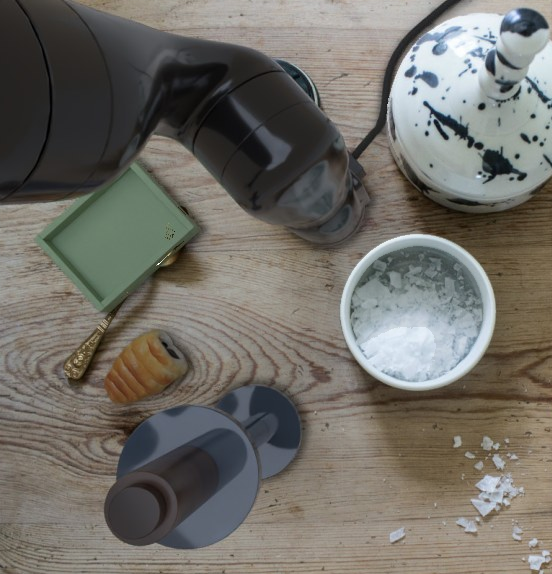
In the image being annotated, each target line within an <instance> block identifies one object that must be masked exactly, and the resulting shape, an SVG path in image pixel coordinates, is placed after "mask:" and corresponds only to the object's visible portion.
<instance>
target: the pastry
mask: <svg viewBox="0 0 552 574" xmlns="http://www.w3.org/2000/svg"><path fill="white" fill-rule="evenodd" d="M188 369H189V366H188V363H187V360H186V358H185V356H184V354H183V353H182V352H181V351H180V350H179V349H178V348H177V346H175V345H174V343H173V340H172V338H171V337H170V336H169V334H167V332H164V331H163V330H160V329H151V331H148V332H145V333H143V334H140V335H139V336H138V337H136V338H135V339H133V341H131V342H130V343H129V344H128V345H127V346H126V347H123V349H122V351H121V352H120V353H119V354H118V356H117V357H116V359H115V360H114V362H113V363H112V365H111V368H110V370H109V371H108V372H107V373H106V376H105V378H104V380H103V381H104V389H105V392H106V394H107V395H108V396H109V400H110V402H112V403H115V404H119V405H120V404H121V405H129V404H131V403H134V402H138V401H143V400H146V399H147V398H149V397H151V396H153V395H159V394H160V393H162V392H163V391H164V389H165V388H166V387H168V386H169V385H170V384H172V383H173V382H175V381H176V380H177V379H178V378H179V377H181V376H182V375H185V374H186V373H187V372H188Z"/></svg>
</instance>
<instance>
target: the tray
mask: <svg viewBox="0 0 552 574" xmlns="http://www.w3.org/2000/svg"><path fill="white" fill-rule="evenodd" d="M178 207H179V208H180V209H181V210H182V211H183V212H184V213H185V214H186V215H185V214H184V213H183V212H182V211H181V210H180V209H179V208H178ZM168 223H169V224H168ZM167 225H168V226H167ZM166 227H167V229H166ZM168 228H169V230H168ZM170 229H171V230H170ZM172 229H173V231H172ZM201 230H202V229H201V227H199V225H198V224H197V223H196V222H195V221H194V220H193V219H192V218H191V216H190V215H188V214H187V212H186V211H185V210H184V209H183V208H182V207H181V206H180V205H179V204H178V203H177V201H176V200H175V198H173V197H172V195H170V194H169V193H168V191H167V190H165V189H164V187H163V186H162V185H161V184H160V183H159V182H158V180H157V179H155V177H153V175H152V174H151V173H150V172H149V171H148V170H147V169H146V168H145V167H144V165H143V164H141V162H139V160H138V159H137V160H136V161H135V162H134V163H133V164H132V165H131V166H130V167H129V168H128V169H127V170H126V171H125V172H124V173H123V174H122V175H121V176H120V177H119V178H118V179H116V180H115V181H113V182H112V183H110V184H109V185H107V186H106V187H104V188H103V189H101V190H99V191H97V192H95V193H92V194H89V195H86V196H84V197H81V198H77V199H75V201H73V203H72V204H71V205H69V207H67V208H66V209H65V210H64V211H63V212H61V214H59V215H58V217H56V218H55V219H54V220H52V222H50V223H49V224H48V225H47V226H46V227H45V228H44V229H42V230H41V232H39V234H37V235H36V236H35V237H34V238H33V241H34V243H36V244H37V246H39V247H40V249H41V250H42V251H43V252H44V253H45V254H46V255H47V256H48V257H49V259H50V260H52V262H53V263H54V264H55V265H56V266H57V267H58V269H60V271H62V273H63V274H64V275H65V276H66V277H67V279H69V280H70V281H71V283H72V284H73V285H74V286H75V287H76V288H77V290H79V291H80V292H81V294H83V296H84V297H85V298H86V299H87V300H88V301H89V302H90V304H92V306H93V307H94V308H95V309H96V310H97V311H98V313H112V311H113V310H114V309H116V307H118V306H119V305H120V304H121V303H122V302H123V301H124V300H126V299H127V298H128V296H130V295H131V294H132V293H133V292H134V291H136V289H138V288H139V287H140V286H141V285H142V284H143V283H144V282H145V281H146V280H147V279H149V278H150V277H151V276H152V275H153V274H154V273H155V272H156V271H158V269H159V268H161V267H162V266H163V265H164V264H165V263H166V262H167V261H168V260H170V259H171V258H172V257H173V256H174V255H175V254H176V253H178V251H179V250H181V249H182V248H183V247H184V246H185V245H186V244H187V243H188V242H190V241H191V240H192V239H193V238H194V237H195V236H196V235H197V234H198V233H199V232H200V231H201ZM167 231H168V232H167ZM174 231H175V232H174ZM166 232H167V233H166ZM166 234H167V235H166ZM168 234H169V235H168ZM172 234H174V235H173V238H172ZM170 235H171V237H170ZM165 237H166V238H165ZM167 237H168V239H167ZM169 238H170V240H169ZM183 241H184V242H183ZM182 242H183V243H182ZM180 243H182V244H181V245H180V246H179V247H177V248H176V250H174V251H173V252H172V253H171V254H170V255H169V256H167V255H168V254H169V253H170V252H171V251H172V250H173V249H174V248H175V247H176V246H178V245H179V244H180ZM166 256H167V257H166ZM165 257H166V258H165ZM164 258H165V259H164ZM163 259H164V260H163ZM162 260H163V261H162ZM161 261H162V262H161ZM160 262H161V263H160ZM158 263H160V264H159V265H157V264H158ZM156 265H157V266H156ZM127 292H128V293H127ZM126 293H127V294H126ZM122 296H123V297H122ZM121 297H122V298H121Z"/></svg>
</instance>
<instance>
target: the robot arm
mask: <svg viewBox="0 0 552 574" xmlns="http://www.w3.org/2000/svg"><path fill="white" fill-rule="evenodd" d="M460 1H461V0H444V1H443V2H442V3H441V4H439V5H438V6H437V7H436V8H434V10H432V11H431V12H430V13H429V14H427V16H425V17H424V18H423V19H422V20H421V21H419V22H418V23H417V24H416V25H415V26H413V28H411V30H409V31H408V32H407V34H405V36H404V37H403V38H402V39H401V40H400V42H399V43H398V44H397V46H396V47H395V49H394V50H393V53H392V54H391V56H390V58H389V61H388V63H387V65H386V70H385V73H384V77H383V82H382V83H383V84H382V92H381V103H380V109H379V115H378V119H377V121H376V124H375V125H374V127H373V128H372V129H371V130H370V131H369V132H368V133H367V135H365V137H364V138H363V139H362V141H360V143H359V144H358V145H357V146H356V148H355V149H354V150H353V151H352V152H350V151H348V148H347V144H346V142H345V139H344V136H343V134H342V133H341V131H340V130H339V128H338V126H336V124H335V123H334V121H332V119H331V118H330V117H329V116H328V115H327V114H326V113H325V111H323V110H322V108H320V107H319V106H318V104H317V103H316V102H315V101H314V100H313V98H311V96H309V94H308V93H307V92H306V91H305V90H304V89H303V88H302V87H301V85H299V84H298V83H297V82H296V80H295V79H294V78H293V77H292V76H291V75H290V74H289V73H288V72H287V71H286V70H285V69H284V67H282V66H281V65H280V63H278V62H277V61H276V60H274V59H273V58H272V57H270V56H269V55H268V54H266V53H264V52H262V51H260V50H258V49H256V48H255V49H254V48H252V47H249V46H245V45H241V44H237V43H231V42H224V41H218V40H211V39H206V38H198V37H192V36H186V35H181V34H176V33H171V32H168V31H164V30H161V29H158V28H155V27H153V26H149V25H147V24H144V23H141V22H138V21H135V20H133V19H129V18H125V17H122V16H119V15H117V14H113V13H109V12H106V11H104V10H100V9H97V8H95V7H94V8H93V7H92V6H88V5H86V4H83V3H80V2H77V1H74V0H0V207H3V206H17V205H18V206H19V205H32V204H34V205H35V204H48V203H57V202H58V203H59V202H64V201H73V200H78V199H79V198H81V197H84V196H86V195H89V194H92V193H95V192H97V191H99V190H101V189H103V188H104V187H106V186H107V185H109V184H110V183H112V182H113V181H115V180H116V179H118V178H119V177H120V176H121V175H122V174H123V173H124V172H125V171H126V170H127V169H128V168H129V167H130V166H131V165H132V164H133V163H134V162H135V161H136V160H138V158H139V157H140V155H141V154H142V153H143V151H144V149H145V148H146V146H148V143H149V141H150V140H151V138H152V137H153V136H158V137H163V138H168V139H171V140H173V141H175V142H177V143H178V144H180V145H181V146H183V148H185V149H186V150H187V151H189V153H190V154H191V155H192V156H193V157H195V159H196V160H197V161H198V163H200V164H201V166H202V167H203V168H204V169H205V170H206V171H207V172H208V173H209V175H210V176H212V178H213V179H214V180H215V181H216V182H217V183H218V184H219V186H220V187H222V188H223V190H225V192H226V193H227V195H229V196H230V197H231V199H233V201H235V202H236V204H237V205H238V206H239V208H241V209H242V210H243V211H244V212H245V213H246V214H248V216H251V217H253V218H254V219H256V220H258V221H260V222H263V223H266V224H268V225H271V226H274V227H275V226H276V227H284V228H285V229H287V230H289V231H290V232H292V233H293V234H295V235H296V236H297V237H298V238H300V239H301V240H303V241H304V242H306V243H308V244H311V245H313V246H316V247H333V246H334V247H335V246H338V245H340V244H343V243H345V242H346V241H348V240H349V239H351V238H352V237H353V236H354V235H355V234H356V233H357V232H358V230H359V229H360V227H361V225H362V223H363V220H364V217H365V212H366V211H365V210H366V206H367V205H369V203H370V202H371V199H370V197H369V195H368V192H367V190H366V188H365V186H364V184H363V182H362V181H361V180H363V179H364V178H365V177H366V176H367V173H366V170H365V168H364V167H363V165H362V164H361V163H360V162H359V161H358V159H359V158H360V157H361V155H362V154H363V153H364V152H365V151H366V149H367V148H368V147H369V146H370V145H371V144H372V142H373V141H374V140H375V139H376V138H377V136H378V135H379V134H380V133H381V132H382V131H383V129H384V127H385V125H386V121H387V118H386V114H387V115H388V113H387V104H388V98H389V99H390V97H389V94H391V88H392V87H391V86H392V80H393V75H394V72H395V68H396V66H397V63H398V62H399V59H400V58H401V56H402V55H403V53H404V52H405V50H406V48H407V47H408V46H409V45H410V43H411V42H413V40H414V39H415V38H416V37H417V36H418V35H419V34H420V33H422V31H424V30H425V29H426V28H427V27H428V26H430V25H431V24H432V23H433V22H434V21H435V20H437V19H438V18H439V17H440V16H442V15H443V14H444V13H445V12H447V11H448V10H449V9H450V8H452V7H453V6H454V5H456V4H457V3H458V2H460Z"/></svg>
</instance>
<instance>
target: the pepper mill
mask: <svg viewBox="0 0 552 574" xmlns="http://www.w3.org/2000/svg"><path fill="white" fill-rule="evenodd" d="M217 484H218V470H217V466H216V464H215V462H214V460H213V459H212V458H211V456H210V455H209V454H208V453H206V452H205V451H203V450H202V449H199V448H197V447H192V446H184V447H179V448H176V449H174V450H172V451H170V452H168V453H166V454H164V455H162V456H161V457H159V458H157V459H155V460H153V461H151V462H149V463H147V464H145V465H143V466H142V467H140V468H138V469H136V470H134V471H132V472H130V473H128V474H126V475H124V476H123V477H121V478H120V479H119V480H117V481H116V480H115V482H114V483H113V484H112V486H111V487H110V488H109V490H108V492H107V494H106V496H105V500H104V504H103V514H104V515H103V516H104V520H105V523H106V526H107V527H108V529H109V531H110V533H112V535H113V536H114V537H115V538H116V539H118V540H119V541H120V542H123V543H124V544H126V545H129V546H135V547H146V546H151V545H154V544H157V543H156V542H158V541H160V540H161V539H163V538H164V537H165V536H166V535H168V534H169V533H170V532H171V531H172V530H173V529H175V528H176V527H177V526H178V525H179V524H181V523H182V522H183V521H184V520H185V519H187V518H188V517H189V516H190V515H191V514H192V513H194V512H195V511H196V510H197V509H198V508H200V507H201V506H202V505H203V504H204V503H205V502H207V501H208V500H209V499H210V498H211V496H212V495H213V494H214V492H215V490H216V487H217Z"/></svg>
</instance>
